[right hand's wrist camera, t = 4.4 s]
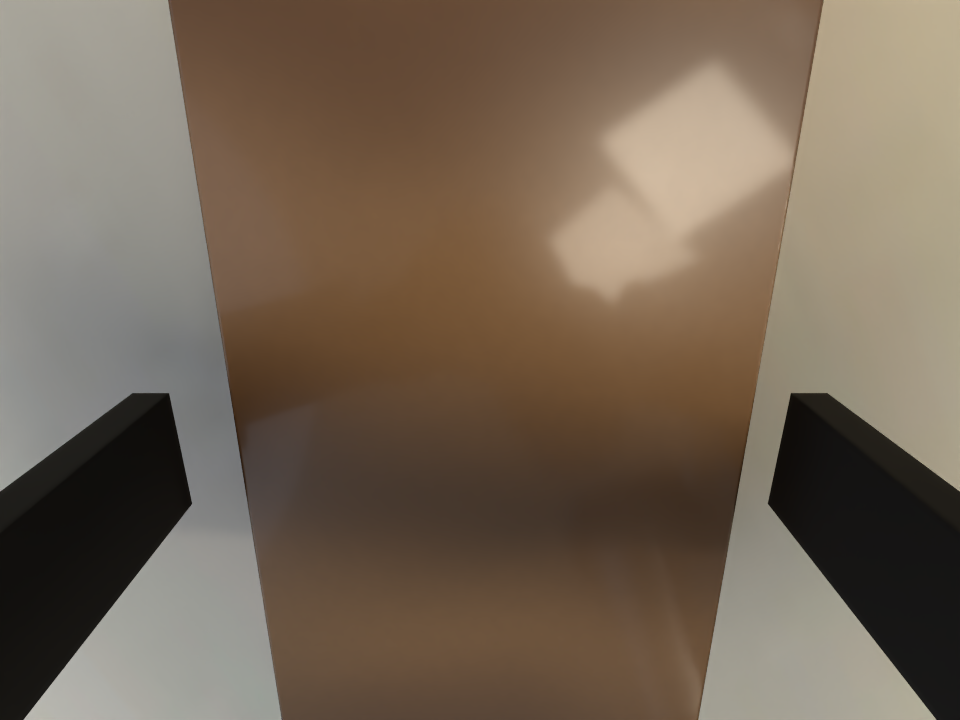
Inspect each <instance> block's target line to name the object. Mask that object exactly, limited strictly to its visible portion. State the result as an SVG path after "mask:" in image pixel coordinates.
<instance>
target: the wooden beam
mask: <svg viewBox="0 0 960 720" xmlns="http://www.w3.org/2000/svg"><path fill="white" fill-rule="evenodd" d="M168 2H169V9H170V15H171V21H172V28H173V34H174V40H175V46H176V53H177V59H178V65H179V72H180V78H181V84H182V91H183V97H184V103H185V110H186V116H187V122H188V129H189V135H190V141H191V148H192V154H193V160H194V167H195V173H196V179H197V186H198V192H199V198H200V205H201V211H202V217H203V224H204V230H205V236H206V243H207V249H208V255H209V262H210V268H211V274H212V281H213V287H214V293H215V300H216V306H217V312H218V319H219V325H220V331H221V337H222V344H223V350H224V356H225V363H226V369H227V375H228V382H229V388H230V394H231V401H232V407H233V413H234V420H235V426H236V432H237V439H238V445H239V451H240V458H241V464H242V470H243V477H244V483H245V489H246V496H247V502H248V508H249V515H250V521H251V527H252V534H253V540H254V546H255V553H256V559H257V565H258V572H259V578H260V584H261V591H262V597H263V603H264V609H265V616H266V622H267V628H268V635H269V641H270V647H271V654H272V660H273V666H274V673H275V679H276V685H277V692H278V698H279V704H280V711H281V717H282V720H698V717H699V712H700V706H701V700H702V694H703V689H704V683H705V677H706V672H707V666H708V660H709V654H710V649H711V643H712V637H713V631H714V626H715V620H716V614H717V608H718V603H719V597H720V591H721V585H722V580H723V574H724V568H725V562H726V557H727V551H728V545H729V540H730V534H731V528H732V522H733V517H734V511H735V505H736V499H737V494H738V488H739V482H740V476H741V471H742V465H743V459H744V453H745V448H746V442H747V436H748V431H749V425H750V419H751V413H752V408H753V402H754V396H755V390H756V385H757V379H758V373H759V367H760V362H761V356H762V350H763V344H764V339H765V333H766V327H767V322H768V316H769V310H770V304H771V299H772V293H773V287H774V281H775V276H776V270H777V264H778V258H779V253H780V247H781V241H782V235H783V230H784V224H785V218H786V213H787V207H788V201H789V195H790V190H791V184H792V178H793V172H794V167H795V161H796V155H797V149H798V144H799V138H800V132H801V126H802V121H803V115H804V109H805V104H806V98H807V92H808V86H809V81H810V75H811V69H812V63H813V58H814V52H815V46H816V40H817V35H818V29H819V23H820V17H821V12H822V6H823V0H168Z"/></svg>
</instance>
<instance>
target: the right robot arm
mask: <svg viewBox="0 0 960 720" xmlns="http://www.w3.org/2000/svg"><path fill="white" fill-rule="evenodd" d="M191 504H192V501H191V496H190V492H189V487H188V482H187V477H186V472H185V468H184V463H183V458H182V453H181V449H180V444H179V439H178V434H177V429H176V425H175V420H174V415H173V410H172V406H171V401H170V396H169V393H132V394H131V395H130V396H128V397H127V398H126V399H124V400H123V401H122V402H120V403H119V404H118V405H116V406H115V407H114V408H112V409H111V410H109V411H108V412H107V413H105V414H104V415H103V416H101V417H100V418H99V419H97V420H96V421H95V422H93V423H92V424H91V425H89V426H88V427H87V428H85V429H84V430H83V431H81V432H80V433H79V434H77V435H76V436H75V437H73V438H72V439H70V440H69V441H68V442H66V443H65V444H64V445H62V446H61V447H60V448H58V449H57V450H56V451H54V452H53V453H52V454H50V455H49V456H48V457H46V458H45V459H44V460H42V461H41V462H40V463H38V464H37V465H36V466H34V467H33V468H31V469H30V470H29V471H27V472H26V473H25V474H23V475H22V476H21V477H19V478H18V479H17V480H15V481H14V482H13V483H11V484H10V485H9V486H7V487H6V488H5V489H3V490H2V491H1V492H0V720H24V718H25V717H26V716H27V714H28V713H29V712H30V711H31V709H32V708H33V707H34V705H35V704H36V703H37V702H38V700H39V699H40V698H41V697H42V695H43V694H44V693H45V691H46V690H47V689H48V688H49V686H50V685H51V684H52V682H53V681H54V680H55V679H56V677H57V676H58V675H59V673H60V672H61V671H62V670H63V668H64V667H65V666H66V664H67V663H68V662H69V661H70V659H71V658H72V657H73V656H74V654H75V653H76V652H77V650H78V649H79V648H80V647H81V645H82V644H83V643H84V641H85V640H86V639H87V638H88V636H89V635H90V634H91V632H92V631H93V630H94V629H95V627H96V626H97V625H98V624H99V622H100V621H101V620H102V618H103V617H104V616H105V615H106V613H107V612H108V611H109V609H110V608H111V607H112V606H113V604H114V603H115V602H116V600H117V599H118V598H119V597H120V595H121V594H122V593H123V592H124V590H125V589H126V588H127V586H128V585H129V584H130V583H131V581H132V580H133V579H134V577H135V576H136V575H137V574H138V572H139V571H140V570H141V568H142V567H143V566H144V565H145V563H146V562H147V561H148V559H149V558H150V557H151V556H152V554H153V553H154V552H155V551H156V549H157V548H158V547H159V545H160V544H161V543H162V542H163V540H164V539H165V538H166V536H167V535H168V534H169V533H170V531H171V530H172V529H173V527H174V526H175V525H176V524H177V522H178V521H179V520H180V519H181V517H182V516H183V515H184V513H185V512H186V511H187V510H188V508H189V507H190V506H191ZM768 504H769V506H770V507H771V508H772V510H773V511H774V512H775V513H776V515H777V516H778V517H779V519H780V520H781V521H782V522H783V524H784V525H785V526H786V527H787V529H788V530H789V531H790V533H791V534H792V535H793V536H794V538H795V539H796V540H797V542H798V543H799V544H800V545H801V547H802V548H803V549H804V551H805V552H806V553H807V554H808V556H809V557H810V558H811V559H812V561H813V562H814V563H815V565H816V566H817V567H818V568H819V570H820V571H821V572H822V574H823V575H824V576H825V577H826V579H827V580H828V581H829V583H830V584H831V585H832V586H833V588H834V589H835V590H836V592H837V593H838V594H839V595H840V597H841V598H842V599H843V600H844V602H845V603H846V604H847V606H848V607H849V608H850V609H851V611H852V612H853V613H854V615H855V616H856V617H857V618H858V620H859V621H860V622H861V624H862V625H863V626H864V627H865V629H866V630H867V631H868V632H869V634H870V635H871V636H872V638H873V639H874V640H875V641H876V643H877V644H878V645H879V647H880V648H881V649H882V650H883V652H884V653H885V654H886V656H887V657H888V658H889V659H890V661H891V662H892V663H893V664H894V666H895V667H896V668H897V670H898V671H899V672H900V673H901V675H902V676H903V677H904V679H905V680H906V681H907V682H908V684H909V685H910V686H911V688H912V689H913V690H914V691H915V693H916V694H917V695H918V697H919V698H920V699H921V700H922V702H923V703H924V704H925V705H926V707H927V708H928V709H929V711H930V712H931V713H932V714H933V716H934V717H935V718H936V720H960V492H959V491H958V490H957V489H955V488H954V487H953V486H951V485H950V484H949V483H947V482H946V481H945V480H943V479H942V478H941V477H939V476H938V475H937V474H935V473H934V472H933V471H931V470H930V469H929V468H927V467H926V466H924V465H923V464H922V463H920V462H919V461H918V460H916V459H915V458H914V457H912V456H911V455H910V454H908V453H907V452H906V451H904V450H903V449H902V448H900V447H899V446H898V445H896V444H895V443H894V442H892V441H891V440H890V439H888V438H887V437H885V436H884V435H883V434H881V433H880V432H879V431H877V430H876V429H875V428H873V427H872V426H871V425H869V424H868V423H867V422H865V421H864V420H863V419H861V418H860V417H859V416H857V415H856V414H855V413H853V412H852V411H851V410H849V409H848V408H846V407H845V406H844V405H842V404H841V403H840V402H838V401H837V400H836V399H834V398H833V397H832V396H830V395H829V394H828V393H791V396H790V401H789V406H788V410H787V415H786V420H785V425H784V429H783V434H782V439H781V444H780V449H779V453H778V458H777V463H776V468H775V472H774V477H773V482H772V487H771V492H770V496H769V501H768Z"/></svg>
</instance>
